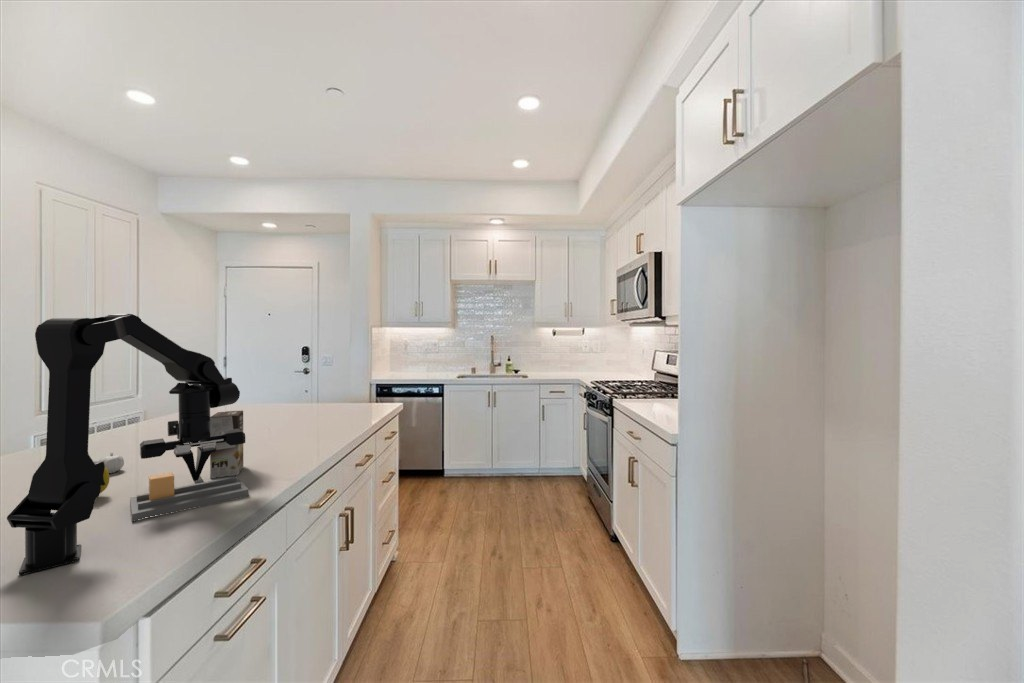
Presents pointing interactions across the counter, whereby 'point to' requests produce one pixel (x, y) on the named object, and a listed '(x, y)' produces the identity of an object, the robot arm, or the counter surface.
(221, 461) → the coffee box
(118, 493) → the counter surface
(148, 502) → the plate
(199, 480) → the dark grey parallel rods
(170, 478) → the light orange rectangular block
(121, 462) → the garlic
